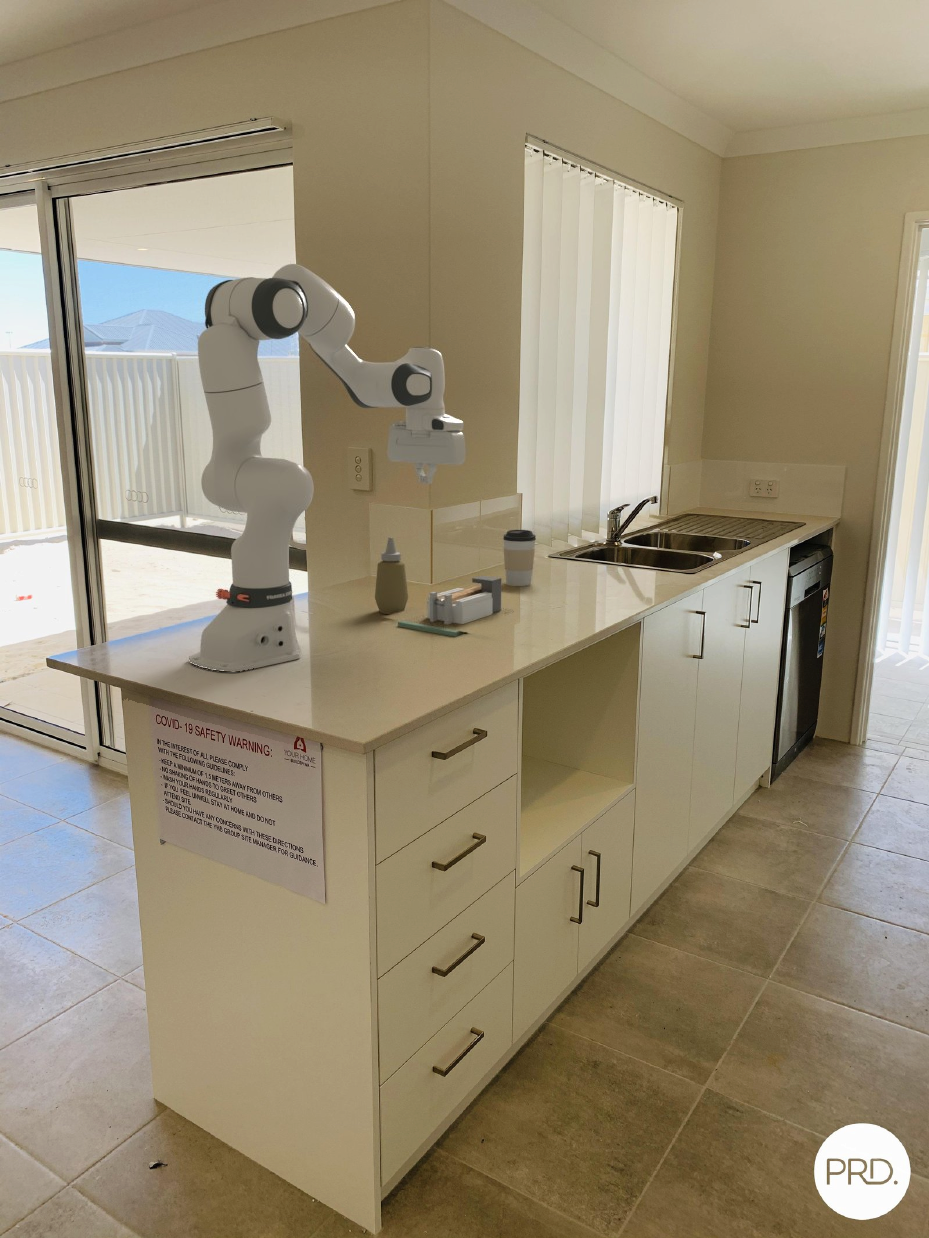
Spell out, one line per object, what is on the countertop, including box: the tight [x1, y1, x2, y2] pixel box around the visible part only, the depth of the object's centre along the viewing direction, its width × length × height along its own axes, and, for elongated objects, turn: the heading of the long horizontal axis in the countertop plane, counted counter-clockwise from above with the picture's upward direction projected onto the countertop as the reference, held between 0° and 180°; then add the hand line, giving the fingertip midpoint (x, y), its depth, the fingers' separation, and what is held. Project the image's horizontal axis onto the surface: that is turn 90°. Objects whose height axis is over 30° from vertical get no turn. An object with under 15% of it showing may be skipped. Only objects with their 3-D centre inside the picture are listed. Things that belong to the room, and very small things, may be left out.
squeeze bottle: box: [374, 537, 409, 615], centre depth 224 cm, size 8×8×18 cm
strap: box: [435, 585, 481, 606], centre depth 217 cm, size 17×3×1 cm, turn 145°
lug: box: [471, 575, 502, 614], centre depth 223 cm, size 4×6×8 cm
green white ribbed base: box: [397, 587, 513, 638], centre depth 217 cm, size 26×16×8 cm, turn 145°
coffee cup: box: [502, 529, 537, 587], centre depth 259 cm, size 9×9×15 cm
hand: (425, 483), depth 216 cm, fingers closed
